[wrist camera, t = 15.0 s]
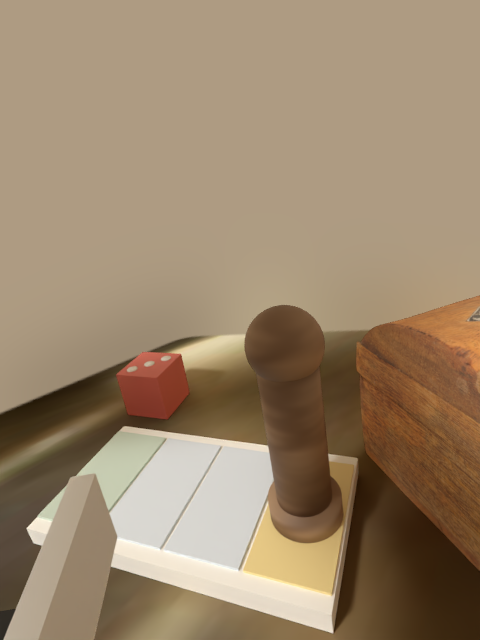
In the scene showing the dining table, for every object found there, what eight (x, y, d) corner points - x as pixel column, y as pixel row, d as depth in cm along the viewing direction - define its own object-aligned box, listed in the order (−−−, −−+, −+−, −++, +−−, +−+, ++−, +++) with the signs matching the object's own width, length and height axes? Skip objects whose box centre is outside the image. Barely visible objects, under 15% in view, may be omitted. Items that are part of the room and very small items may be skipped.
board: (33, 543, 31) (25, 526, 30) (127, 438, 41) (123, 424, 40) (333, 633, 22) (331, 613, 22) (358, 473, 32) (357, 455, 32)
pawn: (261, 535, 26) (221, 327, 21) (281, 479, 30) (251, 293, 25) (337, 550, 25) (315, 327, 19) (347, 489, 29) (331, 291, 23)
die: (127, 414, 45) (115, 374, 43) (152, 389, 49) (142, 351, 47) (167, 419, 43) (156, 377, 41) (189, 392, 47) (180, 353, 45)
